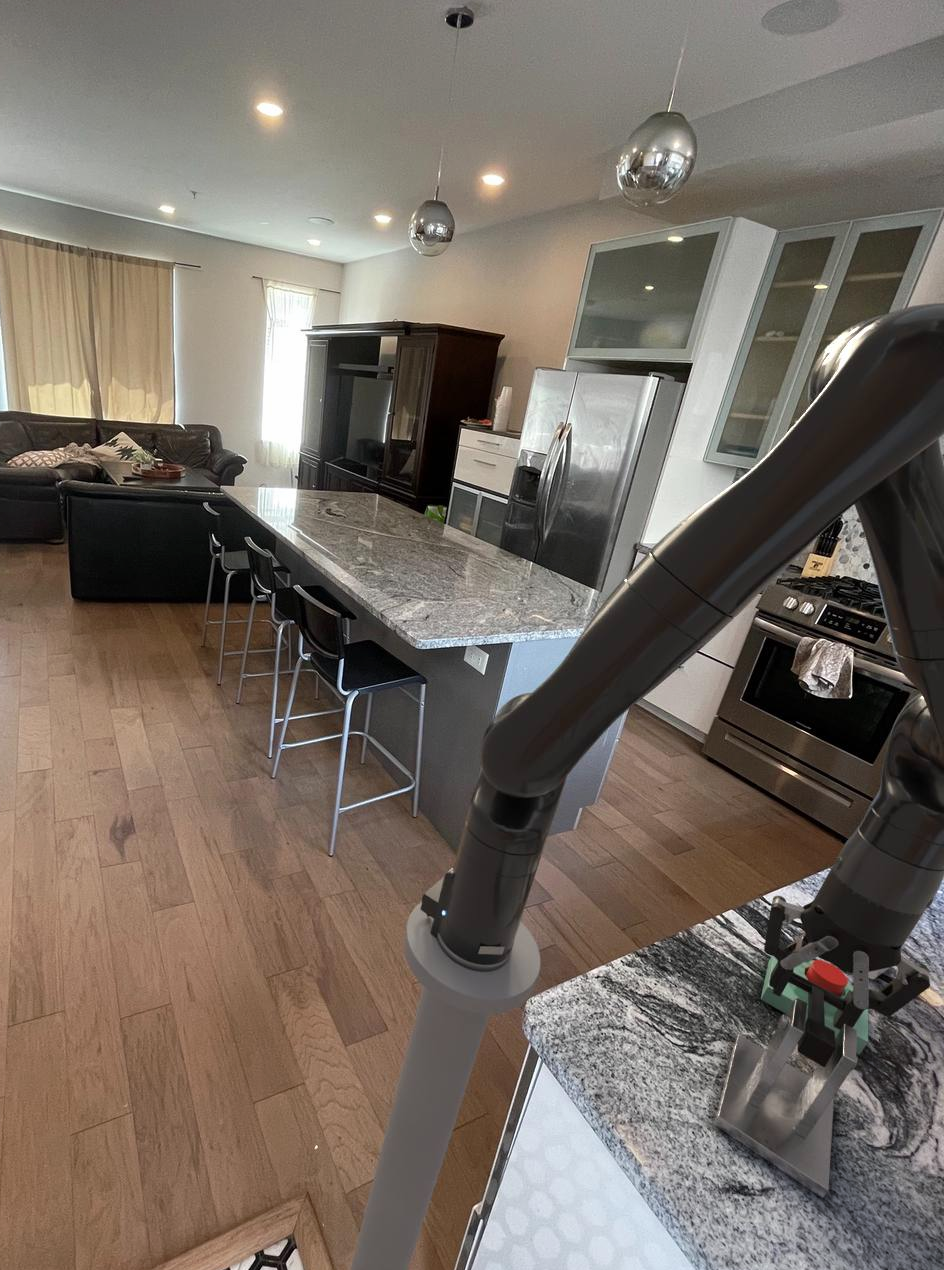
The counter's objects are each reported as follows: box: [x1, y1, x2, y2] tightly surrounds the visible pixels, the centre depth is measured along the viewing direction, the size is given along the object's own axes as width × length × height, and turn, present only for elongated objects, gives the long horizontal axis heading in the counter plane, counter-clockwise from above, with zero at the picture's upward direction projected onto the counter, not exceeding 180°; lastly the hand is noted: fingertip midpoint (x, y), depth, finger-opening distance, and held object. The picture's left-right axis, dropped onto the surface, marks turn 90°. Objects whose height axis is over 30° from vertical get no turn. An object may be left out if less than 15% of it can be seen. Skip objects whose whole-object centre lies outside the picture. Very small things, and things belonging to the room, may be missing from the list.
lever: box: [789, 972, 846, 1067], centre depth 62 cm, size 12×5×2 cm, turn 142°
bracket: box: [713, 997, 859, 1199], centre depth 60 cm, size 12×9×12 cm
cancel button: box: [806, 959, 849, 996], centre depth 74 cm, size 4×4×2 cm
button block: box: [760, 956, 869, 1056], centre depth 75 cm, size 10×8×4 cm
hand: (806, 1006), depth 67 cm, fingers closed on lever, 5 cm apart
